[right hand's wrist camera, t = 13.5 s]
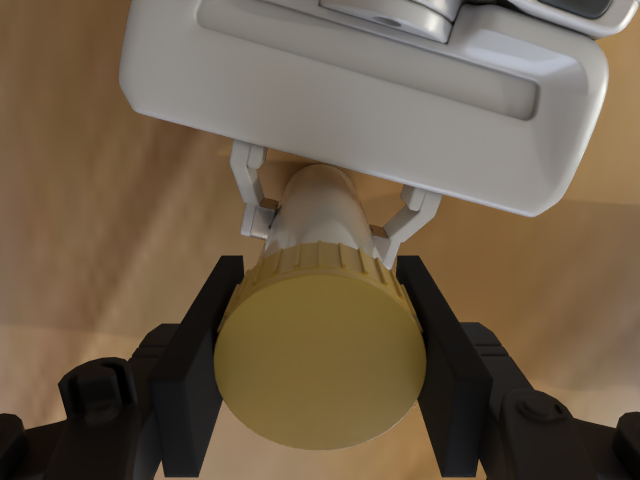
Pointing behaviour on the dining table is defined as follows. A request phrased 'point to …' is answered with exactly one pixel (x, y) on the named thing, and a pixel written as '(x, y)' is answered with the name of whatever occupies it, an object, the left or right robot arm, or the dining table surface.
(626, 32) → the dining table surface
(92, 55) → the dining table surface
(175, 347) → the right robot arm
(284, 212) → the bottle
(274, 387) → the lid
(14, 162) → the dining table surface
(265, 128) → the left robot arm
